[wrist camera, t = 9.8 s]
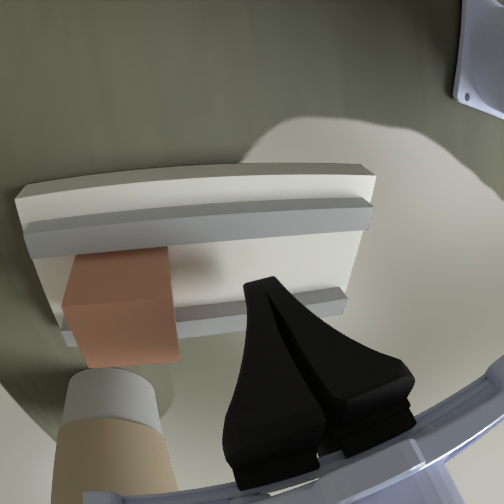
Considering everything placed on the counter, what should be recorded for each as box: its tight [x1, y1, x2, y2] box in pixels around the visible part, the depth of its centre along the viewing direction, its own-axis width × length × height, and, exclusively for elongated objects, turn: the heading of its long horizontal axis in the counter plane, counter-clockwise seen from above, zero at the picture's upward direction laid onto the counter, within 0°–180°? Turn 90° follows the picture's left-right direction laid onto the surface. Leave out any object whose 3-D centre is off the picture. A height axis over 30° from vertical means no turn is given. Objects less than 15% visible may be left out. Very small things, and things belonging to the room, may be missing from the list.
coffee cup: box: [51, 368, 178, 504], centre depth 15 cm, size 9×9×15 cm
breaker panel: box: [15, 163, 376, 347], centre depth 15 cm, size 16×9×2 cm, turn 87°
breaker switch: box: [61, 246, 181, 368], centre depth 12 cm, size 4×4×4 cm
